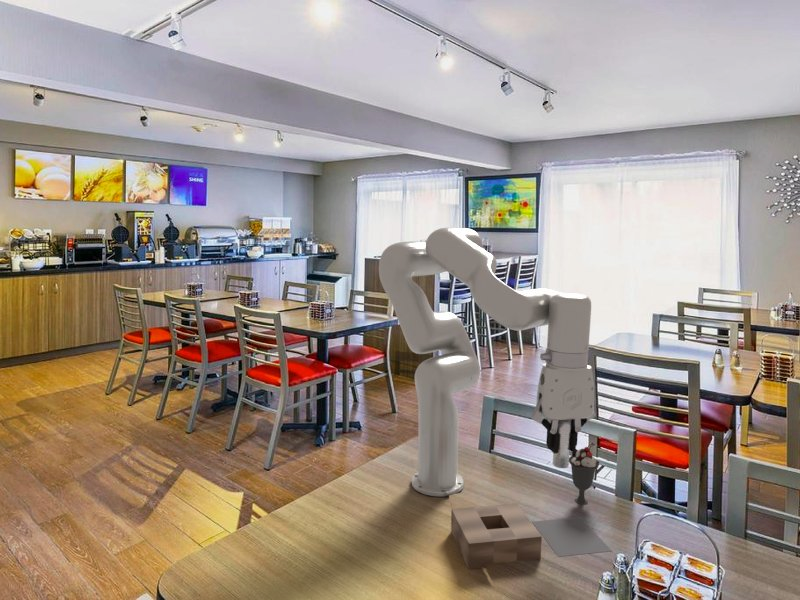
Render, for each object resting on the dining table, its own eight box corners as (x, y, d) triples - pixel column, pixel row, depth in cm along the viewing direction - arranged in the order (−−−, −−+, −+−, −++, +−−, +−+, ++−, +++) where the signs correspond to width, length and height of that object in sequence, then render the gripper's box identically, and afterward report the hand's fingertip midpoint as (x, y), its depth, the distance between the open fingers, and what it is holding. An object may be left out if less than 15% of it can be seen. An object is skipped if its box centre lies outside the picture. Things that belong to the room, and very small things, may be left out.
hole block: (451, 531, 107) (451, 508, 107) (515, 525, 110) (516, 503, 109) (468, 569, 96) (469, 543, 95) (540, 561, 98) (541, 536, 97)
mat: (531, 524, 110) (531, 521, 110) (580, 519, 112) (580, 517, 112) (558, 559, 98) (558, 556, 98) (611, 553, 100) (612, 550, 100)
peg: (549, 461, 104) (552, 413, 103) (563, 460, 105) (566, 412, 103) (557, 468, 101) (560, 419, 100) (571, 467, 102) (574, 418, 100)
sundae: (599, 513, 115) (603, 447, 113) (567, 509, 116) (570, 445, 114) (594, 498, 121) (598, 436, 119) (564, 495, 122) (567, 433, 120)
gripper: (535, 365, 95) (530, 461, 97) (617, 362, 98) (610, 455, 100) (518, 355, 102) (514, 444, 105) (595, 352, 105) (589, 439, 108)
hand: (561, 449), depth 102 cm, fingers closed on peg, 3 cm apart
